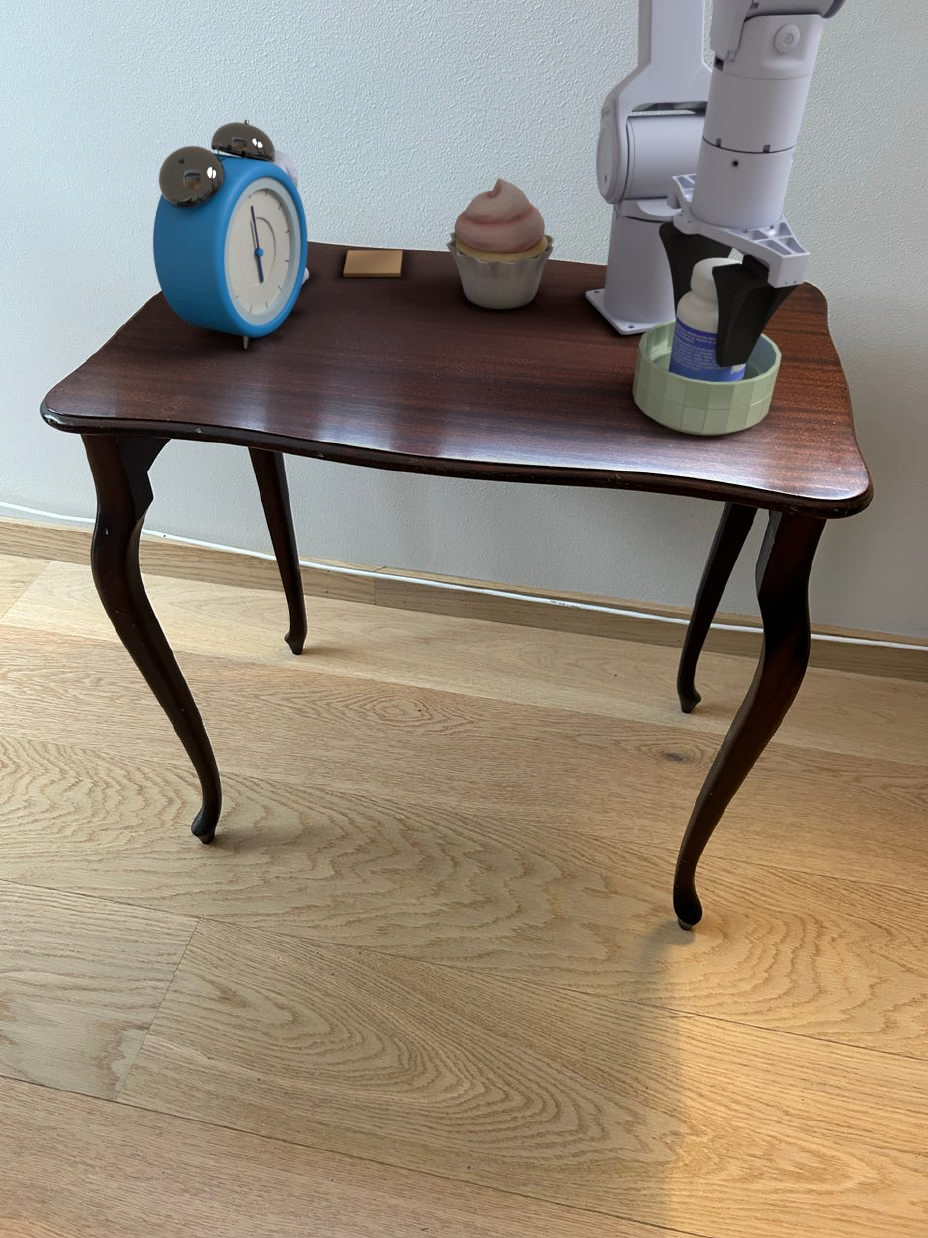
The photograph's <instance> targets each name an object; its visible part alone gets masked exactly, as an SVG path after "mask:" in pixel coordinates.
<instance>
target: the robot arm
mask: <svg viewBox="0 0 928 1238" xmlns="http://www.w3.org/2000/svg"><path fill="white" fill-rule="evenodd" d="M846 1H847V0H712V11H711V12H712V14H711V22H710V30H709V49H710V50H712V51H713V52H714V59H713V65H712V69H711V68H710V67H709V66H708V65H707V64H706V62H705V61H704V42H705V41H704V37H705V9H706V8H705V7H706V0H638V13H637V14H638V16H637V17H638V23H637V24H638V25H637V65H636V67H635V68H634V70H632V71H631V72H630V73H628V75H626V77H624V78H623V79H622V80H621V81H620V82H619V83H618V84H616V85H615V86H614V87H613V88H612V89H611V90H610V91H609V92H608V93H607V95H606V96H605V99H604V100H603V102H602V105H601V108H600V117H599V118H600V123H599V132H598V137H597V143H596V152H595V153H596V155H595V176H596V183H597V188H598V191H599V194H600V196H601V197H602V198H603V199H604V202H606V204H608V205H612V215H611V222H610V223H611V225H610V235H609V243H608V254H607V263H606V273H605V282H604V288H599V289H592V290H587V291H586V292H585V298H586V299H587V300H588V301H589V303H591V305H592V306H593V307H594V308H595V309H596V310H597V311H598V312H599V313H600V314H601V315H602V316H603V317H604V318H605V319H606V320H607V321H608V323H609V324H611V325H612V326H613V328H614V329H615V330H616V331H617V332H618V333H619V334H620V335H623V336H628V335H634V334H640V333H646V332H647V331H648V330H649V329H651V328H652V327H653V326H656V325H659V324H661V323H664V322H667V321H671V320H676V314H677V308H678V304H679V301H680V300H681V298H682V297H683V296H684V295H685V294H686V293H688V292H690V291H692V289H691V279H692V274H693V269H694V266H695V265H696V264H697V263H698V262H700V261H702V260H705V259H710V258H728V259H729V257H730V255H731V253H732V251H733V249H734V250H736V251H737V252H738V253H740V254H741V255H742V260H741V262H742V264H740V263H735V264H728V265H721V266H714V267H713V268H712V276H713V279H714V282H715V286H716V292H717V298H718V329H717V337H716V348H715V356H716V363H717V364H718V365H719V366H720V367H722V368H724V367H730V366H735V365H741V364H746V362H747V361H748V359H749V357H750V355H751V353H752V351H753V349H754V347H755V345H756V343H757V341H758V339H759V337H760V336H761V334H763V332H764V330H765V328H766V327H767V326H768V324H769V322H770V321H771V319H772V317H773V316H774V314H775V313H776V312H777V310H778V309H779V308H780V306H781V305H783V303H784V302H785V301H786V300H787V298H788V297H789V296H790V295H791V294H792V293H793V292H794V291H795V290H796V289H797V288H798V287H799V286H800V285H803V284H804V283H805V279H806V274H807V270H808V266H809V262H810V258H811V255H812V254H811V252H810V251H808V249H806V248H804V246H802V245H801V243H800V242H799V239H798V238H797V237H796V235H795V233H794V231H793V230H792V227H791V226H790V223H789V222H788V220H787V218H786V216H785V215H784V212H783V209H784V205H785V204H784V203H785V198H786V196H787V195H786V194H787V190H788V185H789V180H790V176H791V170H792V167H793V163H794V158H795V153H796V150H797V145H798V141H799V138H800V137H799V136H800V131H801V127H802V123H803V119H804V114H805V110H806V105H807V102H808V101H807V100H808V98H809V97H808V96H809V92H810V87H811V82H812V78H813V73H814V69H815V64H816V60H817V55H818V52H819V47H820V42H821V38H822V33H823V28H824V24H825V22H824V20H829V19H831V18H833V17H835V16H836V14H838V13H839V12H840V10H841V9H842V8H843V6H844V4H845V3H846ZM668 111H669V112H670V111H671V112H673V111H688V112H692V113H669V114H643V115H630V114H631V113H642V112H643V113H647V112H668Z"/></svg>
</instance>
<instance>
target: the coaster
mask: <svg viewBox="0 0 928 1238" xmlns="http://www.w3.org/2000/svg"><path fill="white" fill-rule="evenodd" d="M345 258H346V259H345V264H344V269H343V274H342V275H343V278H401V274H402V273H401V271H402V264H403V250H402V249H394V250H393V249H385V250H384V249H381V250H378V249H377V250H376V249H375V250H374V249H373V250H372V249H371V250H370V249H369V250H368V249H367V250H365V249H363V250H361V249H359V250H357V249H355V250H351V249H350V250H347V253H346V257H345Z"/></svg>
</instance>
